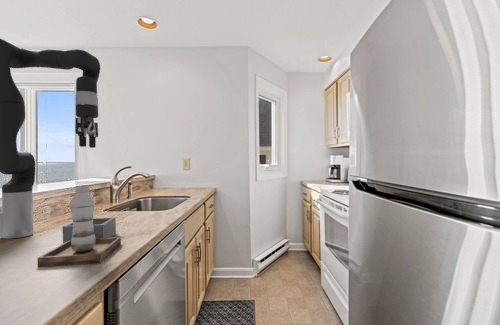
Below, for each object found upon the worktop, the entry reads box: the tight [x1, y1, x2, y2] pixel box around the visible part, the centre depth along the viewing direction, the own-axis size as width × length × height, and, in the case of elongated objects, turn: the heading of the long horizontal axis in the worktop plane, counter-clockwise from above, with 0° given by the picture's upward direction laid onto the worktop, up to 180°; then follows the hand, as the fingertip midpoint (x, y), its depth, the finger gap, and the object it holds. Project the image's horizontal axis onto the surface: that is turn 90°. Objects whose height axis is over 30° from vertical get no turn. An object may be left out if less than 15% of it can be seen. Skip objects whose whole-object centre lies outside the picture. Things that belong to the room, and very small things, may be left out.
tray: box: [37, 236, 122, 268], centre depth 87 cm, size 16×18×2 cm
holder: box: [62, 217, 117, 244], centre depth 104 cm, size 13×13×6 cm
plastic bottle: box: [69, 184, 96, 252], centre depth 87 cm, size 6×7×20 cm
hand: (87, 147), depth 110 cm, fingers open, 8 cm apart
